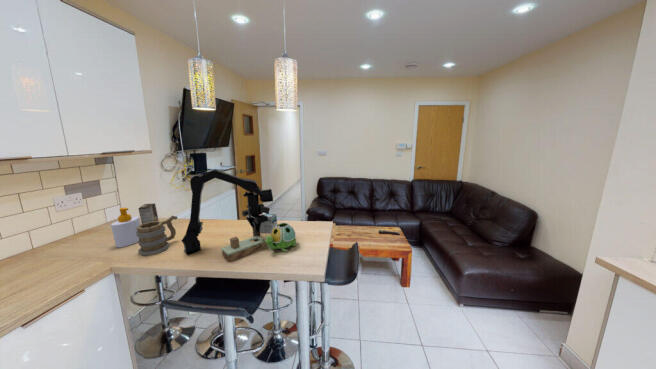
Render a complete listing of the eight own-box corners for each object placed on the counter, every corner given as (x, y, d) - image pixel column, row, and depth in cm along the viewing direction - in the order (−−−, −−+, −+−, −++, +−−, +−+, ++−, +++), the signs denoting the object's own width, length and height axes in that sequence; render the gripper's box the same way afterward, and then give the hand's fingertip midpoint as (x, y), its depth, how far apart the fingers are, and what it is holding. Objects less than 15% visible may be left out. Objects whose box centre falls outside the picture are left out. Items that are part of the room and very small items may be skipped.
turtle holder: (258, 252, 120) (256, 230, 118) (285, 238, 135) (283, 218, 132) (275, 259, 113) (273, 235, 111) (301, 244, 128) (300, 223, 125)
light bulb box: (278, 229, 148) (276, 212, 146) (272, 233, 142) (271, 216, 139) (262, 228, 151) (261, 211, 149) (256, 232, 145) (255, 215, 142)
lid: (228, 255, 111) (226, 244, 110) (221, 249, 117) (219, 239, 116) (265, 241, 124) (264, 232, 123) (257, 236, 130) (256, 227, 129)
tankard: (146, 257, 118) (140, 229, 115) (135, 251, 125) (129, 224, 122) (187, 241, 135) (183, 216, 131) (176, 237, 141) (171, 212, 138)
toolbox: (229, 261, 112) (228, 255, 111) (222, 256, 118) (221, 249, 117) (264, 248, 124) (264, 241, 124) (257, 243, 130) (256, 237, 129)
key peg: (256, 242, 131) (254, 228, 130) (253, 240, 133) (252, 227, 132) (260, 240, 133) (259, 227, 131) (258, 239, 135) (257, 225, 133)
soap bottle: (122, 248, 129) (113, 212, 124) (112, 246, 131) (103, 211, 127) (147, 238, 141) (140, 205, 136) (137, 236, 144) (130, 204, 139)
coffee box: (148, 227, 157) (143, 204, 154) (160, 226, 159) (155, 202, 156) (143, 233, 149) (137, 208, 145) (155, 231, 151) (150, 206, 147)
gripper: (275, 203, 127) (278, 230, 131) (258, 197, 141) (261, 222, 144) (256, 208, 120) (259, 237, 123) (240, 201, 133) (243, 227, 137)
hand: (256, 230), depth 132 cm, fingers open, 4 cm apart
